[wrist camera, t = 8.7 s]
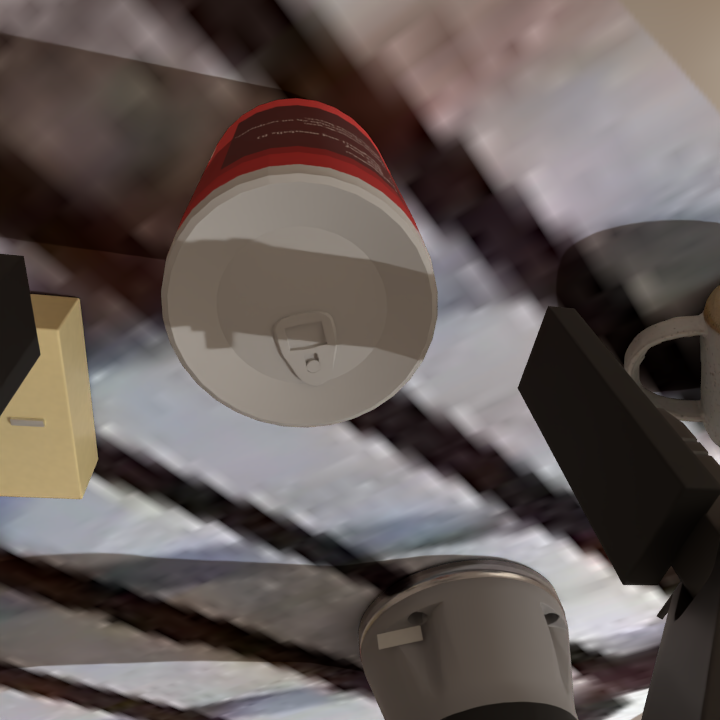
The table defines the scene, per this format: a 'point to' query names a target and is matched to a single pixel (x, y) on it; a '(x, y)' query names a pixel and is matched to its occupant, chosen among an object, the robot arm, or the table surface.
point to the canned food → (298, 271)
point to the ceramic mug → (716, 344)
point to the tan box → (51, 411)
